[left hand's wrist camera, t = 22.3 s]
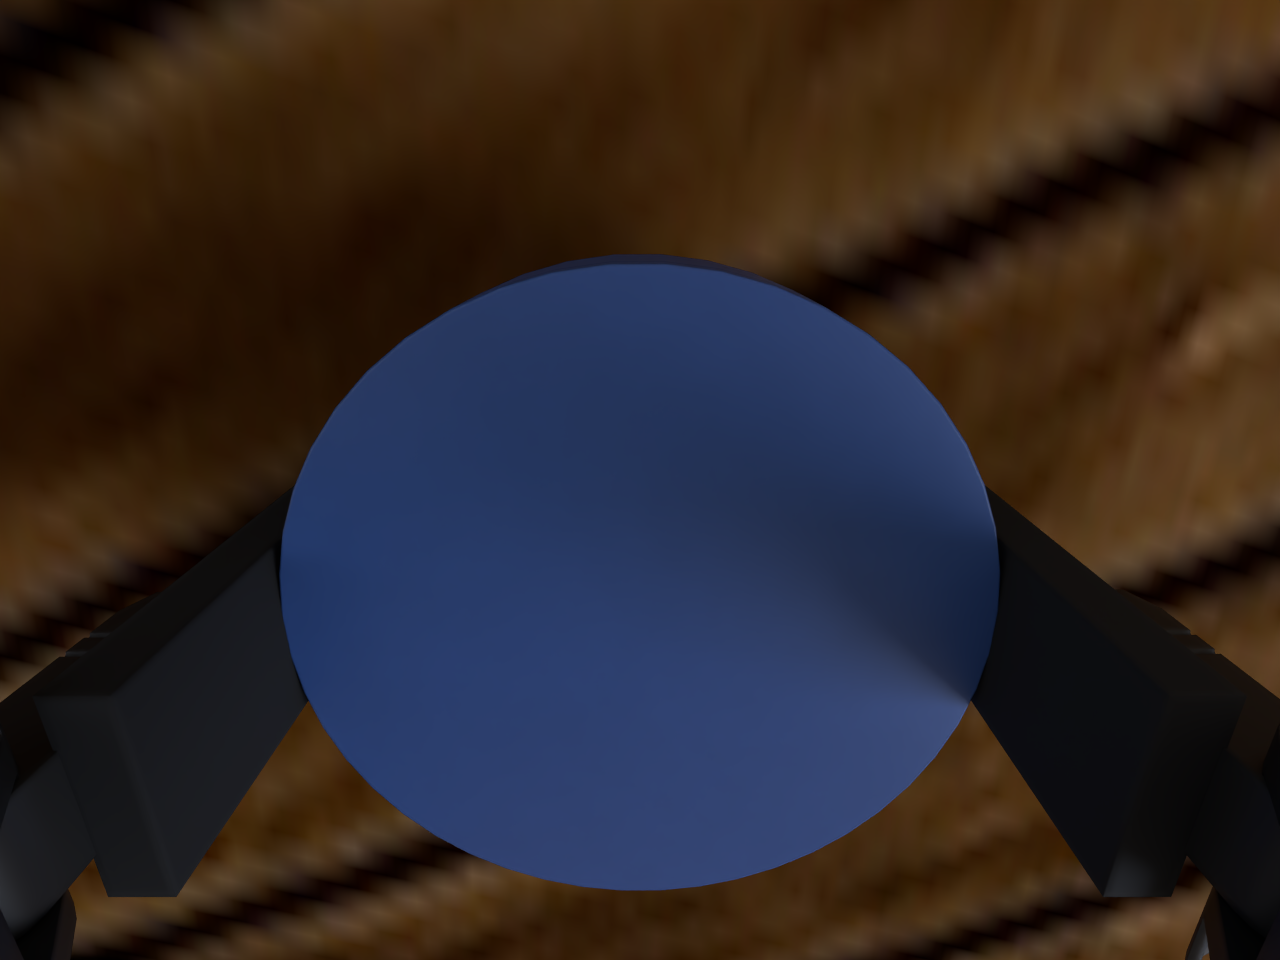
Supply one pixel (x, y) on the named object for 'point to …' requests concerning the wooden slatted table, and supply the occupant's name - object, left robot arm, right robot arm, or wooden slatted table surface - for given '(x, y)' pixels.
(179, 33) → the wooden slatted table surface
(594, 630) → the lid
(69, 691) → the left robot arm
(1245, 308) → the wooden slatted table surface
